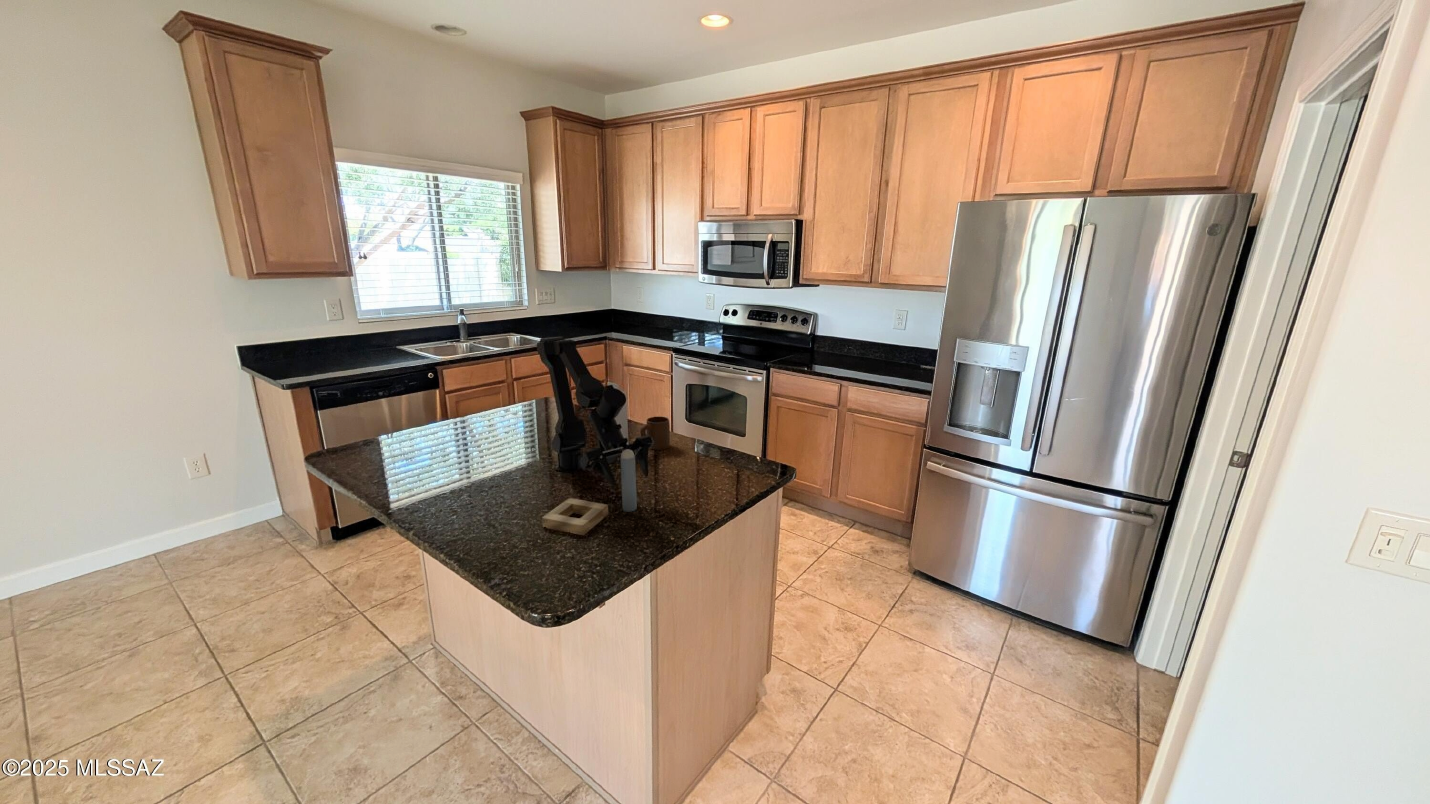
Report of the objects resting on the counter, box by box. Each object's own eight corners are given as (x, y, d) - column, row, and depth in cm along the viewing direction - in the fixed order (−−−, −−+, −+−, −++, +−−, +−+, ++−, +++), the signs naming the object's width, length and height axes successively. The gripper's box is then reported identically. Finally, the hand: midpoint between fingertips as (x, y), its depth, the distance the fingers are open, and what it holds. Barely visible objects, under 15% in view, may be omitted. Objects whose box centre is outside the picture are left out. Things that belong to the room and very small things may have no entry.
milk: (614, 452, 171) (610, 386, 165) (602, 447, 175) (599, 383, 169) (629, 447, 176) (626, 383, 169) (617, 443, 179) (614, 380, 173)
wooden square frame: (542, 527, 124) (541, 517, 123) (570, 506, 134) (569, 497, 133) (583, 535, 121) (582, 525, 120) (608, 513, 131) (607, 504, 130)
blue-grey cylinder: (620, 510, 133) (617, 451, 128) (626, 504, 136) (624, 446, 132) (632, 512, 131) (630, 452, 127) (639, 506, 135) (637, 448, 130)
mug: (650, 456, 168) (649, 428, 166) (633, 451, 172) (632, 423, 170) (674, 445, 178) (674, 418, 175) (657, 441, 182) (656, 414, 179)
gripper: (627, 435, 147) (650, 485, 142) (564, 451, 135) (587, 505, 130) (642, 415, 139) (667, 466, 134) (576, 429, 128) (601, 486, 123)
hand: (631, 481), depth 131 cm, fingers open, 9 cm apart
